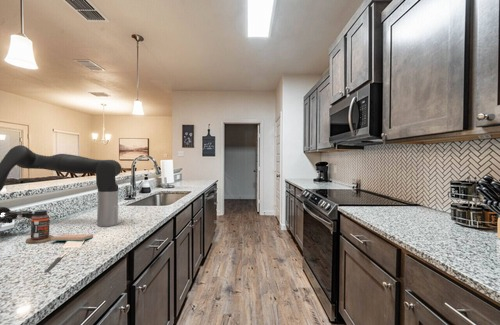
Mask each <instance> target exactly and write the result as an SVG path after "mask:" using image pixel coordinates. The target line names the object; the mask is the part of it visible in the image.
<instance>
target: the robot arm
mask: <svg viewBox="0 0 500 325" xmlns="http://www.w3.org/2000/svg"><path fill="white" fill-rule="evenodd" d="M16 166H17V167H18V168H21V169H26V170H27V169H31V170H32V169H33V170H34V169H36V170H38V169H39V170H47V171H54V172H60V173H61V172H62V173H69V174H95V180H96V181H95V183H96V186H97V210H96V211H97V212H96V213H97V215H96V216H97V218H96V221H97V222H96V223H97V224H96V225H97V227H111V226H117V225H118V223H119V185H118V184H117V182H116V176H118V175H120V174H121V172H122V165H121V164H120V163H119V162H118V161H117V160H113V159H95V158H94V159H93V158H91V157H90V158H89V157H85V156H80V155H77V154H76V155H74V154H69V153H68V154H67V153H57V154H54V155H42V154H38V153H35V152H34V151H33V150H31V149H30V148H28V147H27V146H26V145H21V144H19V145H15V146H13V147H12V148H10V149H9V150H8V152H7V153H5V155H4V157H3V158H2V159H1V161H0V192H2V190H3V188H5V184H6V181H7V179H8V177H9V175H10V172H11V171H12V170H13V169H14V168H15V167H16ZM34 215H35V214H34V212H33V211H31V210H30V211H29V210H18V211H14V210H11V209H10V208H8V207H6V206H0V223H5V224H12V223H13V221H20V220H22V219H30V220H31V218H32V217H33V216H34Z"/></svg>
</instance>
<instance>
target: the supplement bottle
mask: <svg viewBox="0 0 500 325" xmlns="http://www.w3.org/2000/svg"><path fill="white" fill-rule="evenodd" d="M33 213H34V214H35V215H34V216H33V217H32V218H31V219H30V238H31V239H32V240H40V239H45V238H48V237H49V235H50V215H49V214H48V210H47V209H37V210H34V212H33Z"/></svg>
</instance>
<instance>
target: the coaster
mask: <svg viewBox="0 0 500 325" xmlns="http://www.w3.org/2000/svg"><path fill="white" fill-rule="evenodd" d="M51 237H55V235H51V234H49V237H48V238H45V239H40V240H32V239H31V237H28V238H26V239H25V244H29V245H30V244H31V245H35V244H37V245H38V244H43V243H47V242H51V241H52V240H51Z"/></svg>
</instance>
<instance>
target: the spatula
mask: <svg viewBox="0 0 500 325" xmlns="http://www.w3.org/2000/svg"><path fill="white" fill-rule="evenodd" d="M84 242H85V240H66V241H65V243H64V245H63V246H62V249H64V248H65V249H66V248H81V247H82V245H83V244H84ZM68 253H69V252H68V251H64V252H63V254H61V255H60V256H58V257H57V258H56V259H55V260H54V261H53V262H52V263H51V264H50V265H49V266H48V267H47V268H46V269H45V271H44V273H43V274H46V273H49V272H51V270H53V269H54V268H55V266H56V265H58V264H59V263H60V261H61V260H62V259H63V257H64V256H66V255H67V254H68Z"/></svg>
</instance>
